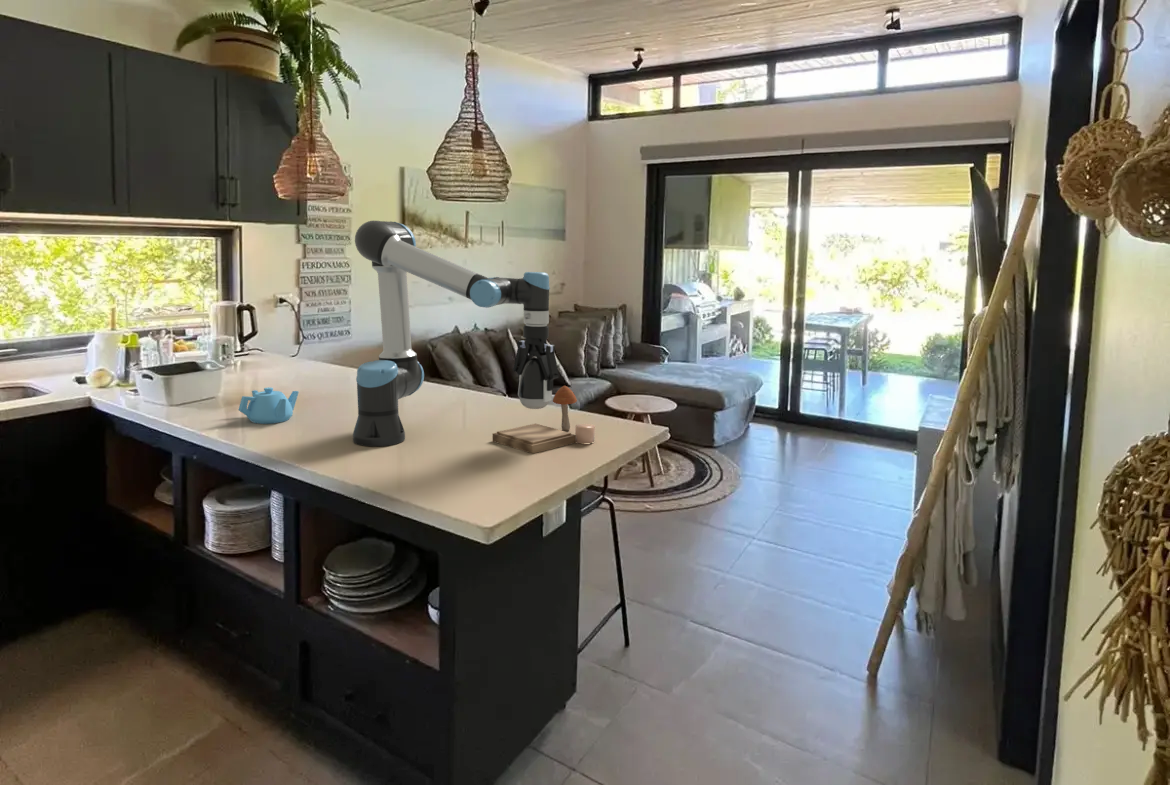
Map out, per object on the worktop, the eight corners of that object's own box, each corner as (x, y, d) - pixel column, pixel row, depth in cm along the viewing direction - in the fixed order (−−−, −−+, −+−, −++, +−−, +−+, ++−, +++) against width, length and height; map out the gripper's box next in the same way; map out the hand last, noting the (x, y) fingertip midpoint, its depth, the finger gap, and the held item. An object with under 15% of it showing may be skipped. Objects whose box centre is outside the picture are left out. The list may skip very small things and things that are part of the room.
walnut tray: (492, 441, 220) (492, 431, 219) (535, 431, 233) (535, 422, 232) (532, 453, 208) (532, 443, 207) (575, 442, 221) (576, 433, 220)
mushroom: (546, 429, 235) (547, 384, 232) (565, 426, 240) (566, 382, 238) (562, 434, 229) (563, 388, 226) (581, 431, 235) (582, 385, 232)
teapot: (254, 414, 244) (252, 383, 242) (300, 414, 246) (298, 383, 244) (237, 425, 230) (235, 392, 227) (286, 425, 231) (284, 392, 229)
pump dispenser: (540, 402, 225) (541, 354, 222) (557, 408, 216) (558, 359, 213) (511, 405, 219) (512, 356, 216) (528, 412, 211) (528, 361, 208)
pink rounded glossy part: (571, 441, 222) (571, 426, 221) (583, 438, 226) (584, 422, 225) (585, 445, 218) (586, 429, 217) (598, 442, 222) (598, 426, 221)
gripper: (501, 322, 218) (501, 394, 222) (553, 329, 203) (552, 406, 207) (520, 320, 223) (519, 391, 228) (572, 327, 208) (570, 402, 212)
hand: (535, 398), depth 217 cm, fingers closed on pump dispenser, 10 cm apart
